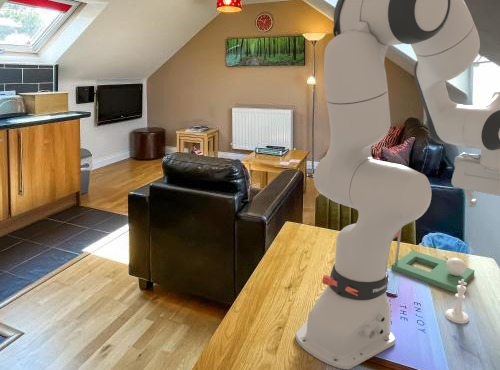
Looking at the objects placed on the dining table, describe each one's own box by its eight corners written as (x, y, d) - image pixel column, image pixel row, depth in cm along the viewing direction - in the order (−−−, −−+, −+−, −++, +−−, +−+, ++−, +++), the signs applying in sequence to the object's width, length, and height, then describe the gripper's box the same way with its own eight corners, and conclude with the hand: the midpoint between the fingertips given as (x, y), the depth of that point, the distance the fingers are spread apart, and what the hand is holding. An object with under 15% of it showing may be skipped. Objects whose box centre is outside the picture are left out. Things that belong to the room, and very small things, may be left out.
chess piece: (447, 308, 94) (453, 272, 91) (470, 316, 91) (477, 278, 88) (442, 318, 90) (448, 280, 88) (466, 326, 88) (473, 287, 85)
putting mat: (451, 297, 99) (459, 249, 95) (386, 272, 112) (391, 229, 108) (473, 274, 110) (481, 231, 106) (412, 254, 123) (417, 215, 119)
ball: (460, 281, 104) (463, 264, 102) (441, 274, 107) (444, 258, 106) (467, 274, 107) (470, 258, 106) (448, 268, 111) (451, 252, 109)
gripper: (451, 153, 98) (444, 204, 103) (549, 167, 84) (536, 225, 88) (460, 149, 103) (453, 198, 107) (555, 161, 88) (542, 217, 93)
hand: (491, 210), depth 98 cm, fingers open, 8 cm apart
